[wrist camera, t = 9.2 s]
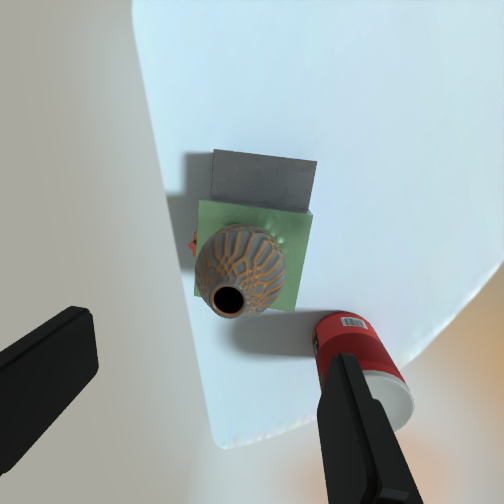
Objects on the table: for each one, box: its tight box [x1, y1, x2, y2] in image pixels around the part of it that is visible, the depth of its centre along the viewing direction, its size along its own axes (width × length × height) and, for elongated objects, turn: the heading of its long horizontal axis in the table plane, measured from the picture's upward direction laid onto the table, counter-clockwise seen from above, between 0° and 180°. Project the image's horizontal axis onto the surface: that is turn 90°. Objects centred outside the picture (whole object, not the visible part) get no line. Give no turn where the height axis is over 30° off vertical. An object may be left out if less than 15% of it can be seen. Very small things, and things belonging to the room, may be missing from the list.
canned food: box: [312, 312, 415, 432], centre depth 28 cm, size 8×8×11 cm
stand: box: [188, 149, 317, 312], centre depth 26 cm, size 14×11×8 cm
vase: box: [195, 224, 286, 319], centre depth 19 cm, size 7×7×9 cm
